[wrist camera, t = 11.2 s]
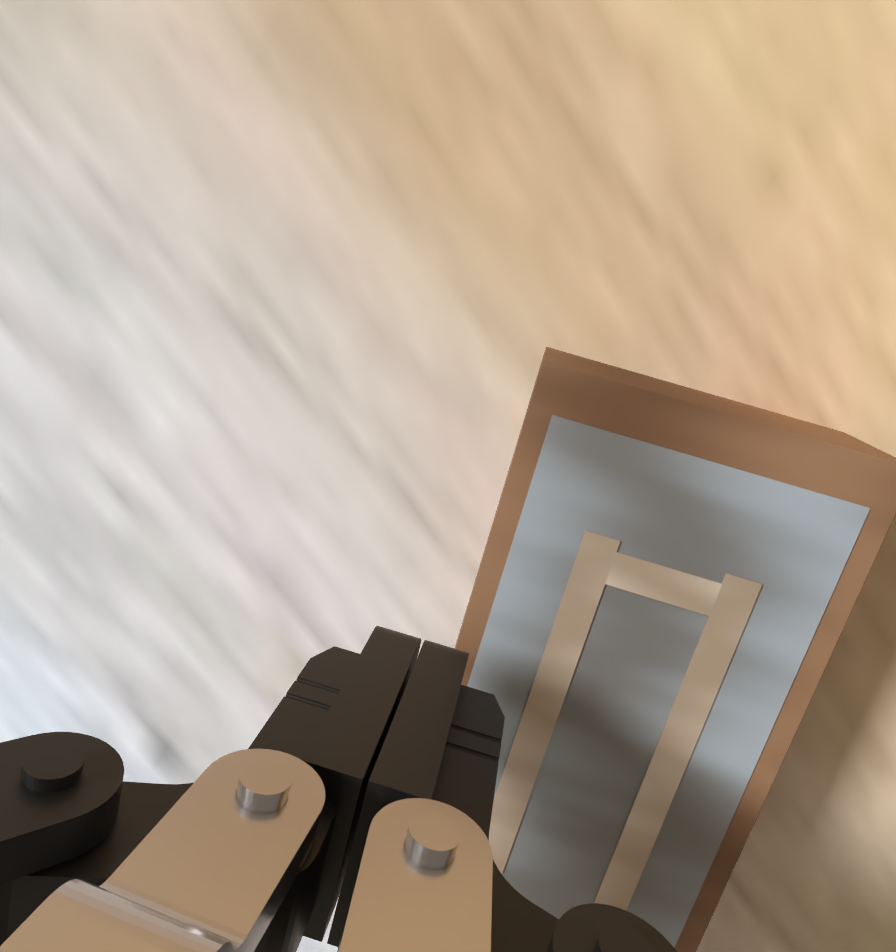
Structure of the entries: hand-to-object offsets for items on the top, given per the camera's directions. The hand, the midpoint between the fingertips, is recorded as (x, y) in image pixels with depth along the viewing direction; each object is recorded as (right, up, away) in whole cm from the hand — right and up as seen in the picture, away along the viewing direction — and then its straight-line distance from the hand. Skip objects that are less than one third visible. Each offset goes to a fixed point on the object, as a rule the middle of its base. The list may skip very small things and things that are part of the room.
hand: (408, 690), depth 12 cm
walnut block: (+2, -6, +5) cm, 8 cm away
